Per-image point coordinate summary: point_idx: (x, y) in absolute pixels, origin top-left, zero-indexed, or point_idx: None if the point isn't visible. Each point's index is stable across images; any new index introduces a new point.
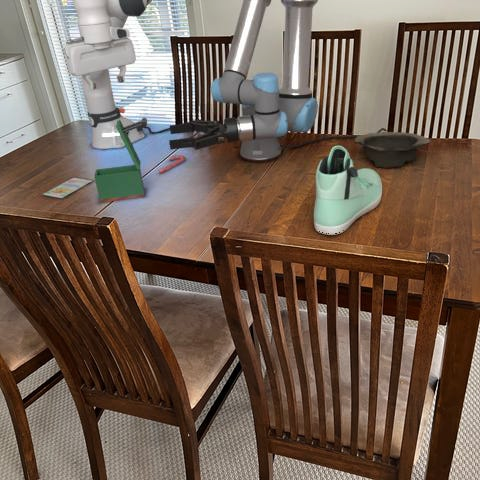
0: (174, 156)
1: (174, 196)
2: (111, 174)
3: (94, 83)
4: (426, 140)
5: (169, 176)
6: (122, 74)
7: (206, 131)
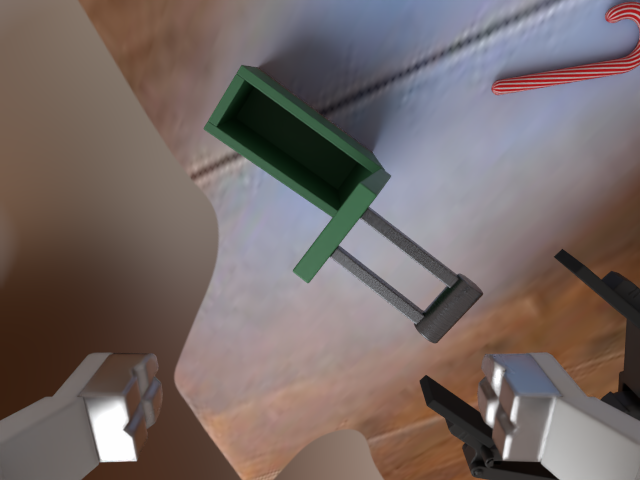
0: (635, 14)
1: (394, 263)
2: (260, 166)
3: (120, 458)
4: None
5: (491, 135)
6: (563, 477)
7: (627, 377)
